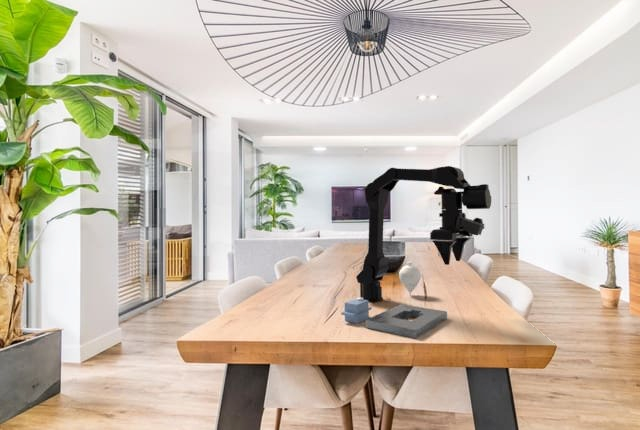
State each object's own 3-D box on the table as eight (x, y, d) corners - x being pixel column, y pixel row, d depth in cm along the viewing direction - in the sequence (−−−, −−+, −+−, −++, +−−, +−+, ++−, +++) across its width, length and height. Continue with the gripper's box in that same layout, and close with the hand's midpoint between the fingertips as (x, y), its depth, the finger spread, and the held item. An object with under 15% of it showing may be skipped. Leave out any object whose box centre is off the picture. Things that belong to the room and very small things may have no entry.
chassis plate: (416, 338, 87) (416, 330, 87) (365, 327, 95) (365, 320, 95) (447, 318, 102) (447, 311, 102) (401, 310, 111) (401, 304, 111)
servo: (341, 322, 101) (340, 301, 101) (360, 314, 108) (359, 295, 108) (353, 324, 98) (352, 303, 98) (371, 316, 106) (371, 297, 106)
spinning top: (425, 295, 131) (425, 261, 131) (411, 298, 126) (411, 263, 126) (408, 291, 137) (408, 259, 137) (394, 294, 132) (394, 261, 132)
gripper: (470, 209, 95) (471, 269, 96) (489, 208, 110) (490, 261, 110) (429, 210, 102) (429, 265, 103) (452, 209, 117) (453, 258, 117)
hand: (452, 262), depth 108 cm, fingers open, 9 cm apart
